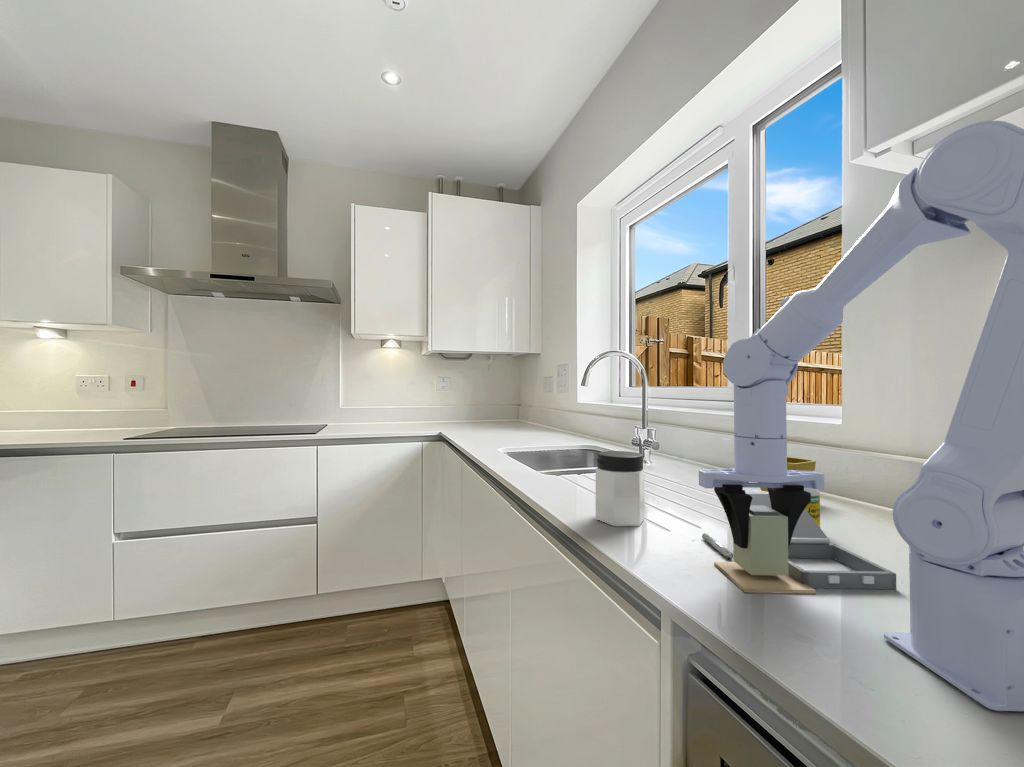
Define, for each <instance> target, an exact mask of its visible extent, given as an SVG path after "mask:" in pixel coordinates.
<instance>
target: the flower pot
mask: <svg viewBox="0 0 1024 767" xmlns="http://www.w3.org/2000/svg"><path fill="white" fill-rule="evenodd" d="M816 464H817V461H816V460H815V459H807V458H806V459H805V458H801V457H792V456H787V470H797V471H815V472H816ZM757 483H760V482H757ZM760 491H765V492H768V489H767V488H760Z"/></svg>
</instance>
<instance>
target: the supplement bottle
mask: <svg viewBox="0 0 1024 767" xmlns="http://www.w3.org/2000/svg"><path fill="white" fill-rule="evenodd" d="M804 491H806V492H809V493H811V501H810V503H809V504H808V505H807V506H806V508H805V509H806V511H807V512H808V513H809V514H810V516H811V517H812V518H813V519H814V521H815V522H816V523H817V525H818V526H819V527H820V528H821V500H820V499H821V497H820V496H821V494H820V493H821V492H820V489H813V488H804Z"/></svg>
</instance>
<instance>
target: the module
mask: <svg viewBox="0 0 1024 767" xmlns="http://www.w3.org/2000/svg"><path fill="white" fill-rule="evenodd" d="M732 542H733V546H732V547H733V548H732V549H733V552H732V553H733V558H732V559H733V562H736V563H737V564H738V565H739V566H741V567H742V568H743V569H744V570H746V571H747V572H748V573H750V574H751V575H782V576H789V566H788V560H789V558H788V517H787V516H785V515H783V514H780V513H778V511H775V510H773V509H771V508H769V507H767V506H758V505H750V510H749V517H748V546H747V548H740V547H739V546H737V545H736V544H735V543H734V541H733V540H732Z"/></svg>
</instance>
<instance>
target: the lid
mask: <svg viewBox="0 0 1024 767" xmlns="http://www.w3.org/2000/svg"><path fill="white" fill-rule="evenodd" d="M748 495H750V496H751V497H752V501H751V505H758V506H767V507H769V508H771V502H770V497H769V494H748ZM771 509H772V508H771ZM790 544H831V540H830V538H829V537H828V536H827V535H826V534H825V532H824V531H823V529H821V526H820V527H819V526H818V525H817V523H816V522H815V521H814V519H813V518H812V517H811V516H810V514H809V513H808V512H807V511H806V509H804V511H803V512H802V514H801V516H800V517H799V519H798V522H797V524H796V526H795V529H794V532H793V535H792V538H791V542H790Z"/></svg>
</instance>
